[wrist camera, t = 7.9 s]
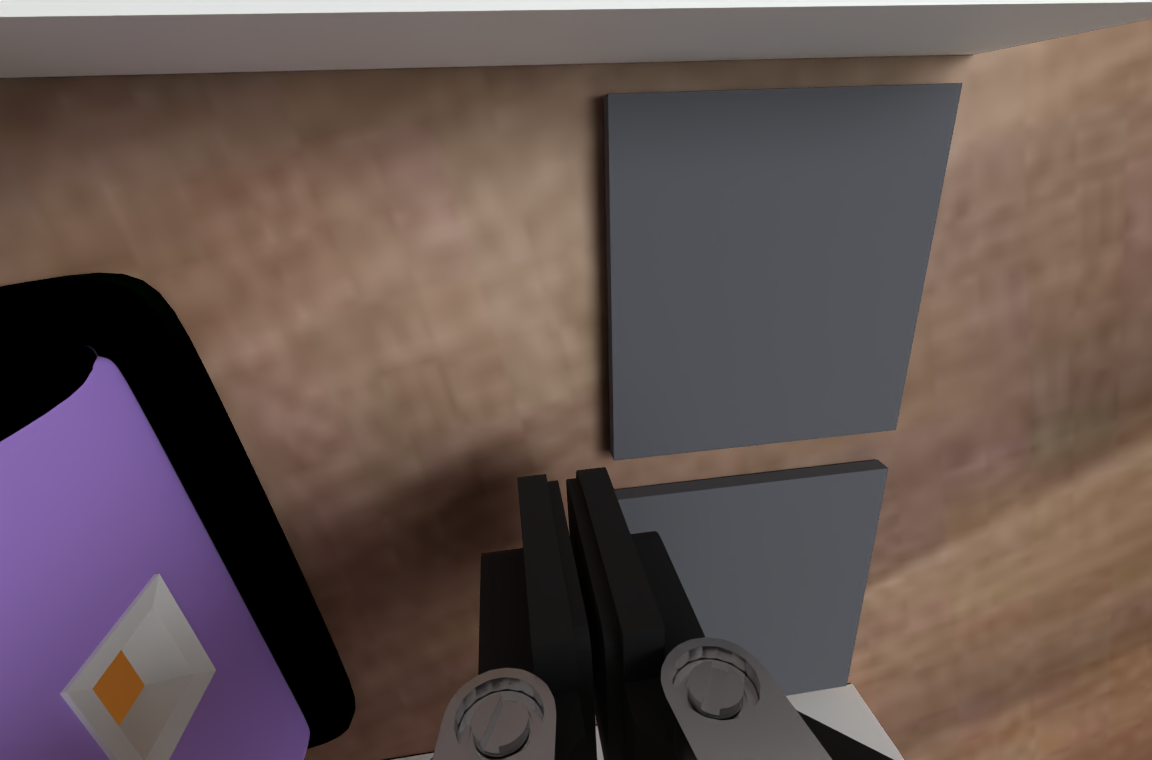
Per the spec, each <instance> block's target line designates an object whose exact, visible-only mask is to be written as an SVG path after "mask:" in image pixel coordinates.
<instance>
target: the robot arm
mask: <svg viewBox="0 0 1152 760" xmlns="http://www.w3.org/2000/svg"><path fill="white" fill-rule="evenodd" d="M517 481H518V492H519V504H520V516H521V528H522V539H523V548H520V549H512V550H505V551H497V552H489V553H482V555H481V580H480V626H479V672H478V676H475V677H474V678H472V679H471V680H470V681H468V682H467V683H466V684H464V685H463V686H462V687H460V689H459V690H458V691H457V692H456V694H455V695H454V696H453V697H452V699H451V700H450V701H449V703H448V706H447V708H446V711H445V713H444V715H443V718H442V722H441V727H440V731H439V735H438V739H437V743H436V747H435V751H434V755H433V757H432V758H431V759H430V760H597V746H596V727H595V716H596V721H597V726H598V732H599V737H600V742H601V747H602V753H603V758H604V760H894V759H892V758H890V757H888V756H886V755H884V754H882V753H880V752H878V751H876V750H874V749H872V748H870V747H868V746H866V745H864V744H862V743H860V742H858V741H856V740H854V739H852V738H850V737H848V736H847V735H845V734H843V733H841V732H839V731H837V730H835V729H833V728H831V727H829V726H827V725H825V724H823V723H821V722H819V721H817V720H815V719H813V718H811V717H809V716H807V715H805V714H803V713H801V712H799V711H797V710H796V709H795V708H794V707H793V705H792V704H791V702H790V701H789V700H788V698H787V697H786V696H785V694H784V693H783V692H782V690H781V689H780V687H779V686H778V685H777V683H776V682H775V681H774V679H773V678H772V676H771V675H770V674H769V672H768V671H767V670H766V668H765V667H764V666H763V664H762V663H761V662H760V661H759V660H758V659H757V658H756V657H755V656H754V655H753V654H752V653H750V652H749V651H747V650H746V649H744V648H742V647H741V646H739V645H738V644H735V643H732V642H729V641H726V640H723V639H718V638H708V637H705V635H704V633H703V630H702V628H701V626H700V624H699V622H698V619H697V617H696V615H695V613H694V610H693V608H692V606H691V604H690V601H689V599H688V597H687V595H686V593H685V590H684V588H683V586H682V584H681V581H680V579H679V577H678V575H677V572H676V570H675V568H674V566H673V564H672V561H671V559H670V557H669V555H668V552H667V550H666V548H665V546H664V543H663V541H662V539H661V537H660V535H659V534H658V532H656V531H650V532H643V533H635V534H630V531H629V529H628V526H627V523H626V521H625V518H624V515H623V513H622V510H621V507H620V505H619V502H618V499H617V497H616V494H615V491H614V488H613V486H612V483H611V480H610V478H609V475H608V472H607V470H606V468H605V467H603V468H595V469H586V470H577V472H576V478H575V479H567V480H566V486H567V502H568V517H569V531H568V526H567V521H566V517H565V512H564V507H563V502H562V498H561V493H560V488H559V483H558V481H549V482H547V478H546V474H543V475H534V476H526V477H517ZM569 533H570V536H569Z"/></svg>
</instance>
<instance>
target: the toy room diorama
mask: <svg viewBox="0 0 1152 760" xmlns="http://www.w3.org/2000/svg"><path fill="white" fill-rule="evenodd" d="M354 712H355V697H354V694H353V690H352V687H351V684H350V681H349V679H348V676H347V674H346V671H345V669H344V666H343V664H342V662H341V659H340V657H339V655H338V652H337V650H336V648H335V645H334V643H333V641H332V638H331V636H330V634H329V632H328V629H327V627H326V625H325V623H324V620H323V618H322V616H321V614H320V612H319V609H318V607H317V605H316V603H315V600H314V598H313V596H312V594H311V592H310V589H309V587H308V585H307V583H306V581H305V578H304V576H303V574H302V572H301V570H300V567H299V565H298V563H297V561H296V559H295V557H294V554H293V552H292V550H291V548H290V546H289V543H288V541H287V539H286V537H285V535H284V533H283V530H282V528H281V526H280V524H279V522H278V520H277V518H276V515H275V513H274V511H273V509H272V507H271V505H270V503H269V500H268V498H267V496H266V494H265V492H264V490H263V488H262V485H261V483H260V481H259V479H258V477H257V475H256V473H255V471H254V469H253V466H252V464H251V462H250V460H249V458H248V456H247V454H246V452H245V449H244V447H243V445H242V443H241V441H240V439H239V437H238V435H237V433H236V431H235V429H234V427H233V424H232V422H231V420H230V418H229V416H228V414H227V412H226V410H225V408H224V406H223V404H222V402H221V400H220V398H219V395H218V393H217V391H216V389H215V387H214V385H213V383H212V381H211V379H210V377H209V375H208V373H207V371H206V369H205V367H204V365H203V363H202V361H201V359H200V357H199V355H198V353H197V351H196V349H195V347H194V345H193V343H192V341H191V340H190V338H189V336H188V334H187V332H186V331H185V329H184V327H183V326H182V324H181V322H180V320H179V319H178V317H177V315H176V314H175V312H174V310H173V309H172V308H171V307H170V305H169V304H168V303H167V302H166V300H165V299H164V298H163V297H162V295H161V294H160V293H159V292H158V291H156V290H155V289H154V288H152V287H151V286H150V285H148V284H147V283H146V282H144V281H143V280H140V279H137V278H134V277H131V276H128V275H125V274H113V273H91V274H81V275H70V276H63V277H56V278H50V279H43V280H37V281H30V282H24V283H19V284H13V285H7V286H1V287H0V760H304V758H305V755H306V751H307V749H309V748H312V747H315V746H318V745H321V744H324V743H327V742H329V741H331V740H333V739H335V738H337V737H339V736H340V735H341V734H343V733H344V732H345V731H346V730H347V729H348V728H349V726H350V723H351V721H352V718H353V715H354Z"/></svg>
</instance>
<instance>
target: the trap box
mask: <svg viewBox="0 0 1152 760" xmlns="http://www.w3.org/2000/svg"><path fill="white" fill-rule="evenodd" d="M1148 19H1152V0H0V78H20V77H61V76H102V75H143V74H184V73H225V72H266V71H308V70H349V69H390V68H431V67H472V66H513V65H554V64H595V63H636V62H677V61H718V60H759V59H800V58H841V57H882V56H924V55H965V54H980V53H985V52H990V51H995V50H1000V49H1005V48H1010V47H1015V46H1019V45H1024V44H1029V43H1034V42H1039V41H1044V40H1049V39H1054V38H1059V37H1064V36H1069V35H1074V34H1079V33H1084V32H1089V31H1094V30H1099V29H1104V28H1109V27H1114V26H1119V25H1123V24H1128V23H1133V22H1138V21H1143V20H1148ZM786 697H787V698H788V700H789V701H790V702H791V704H792V705H793V707H794V708H795V709H796V710H797V711H799V712H801V713H803V714H805V715H807V716H809V717H811V718H813V719H815V720H817V721H819V722H821V723H823V724H825V725H827V726H829V727H831V728H833V729H835V730H837V731H839V732H841V733H843V734H845V735H847V736H848V737H850V738H852V739H854V740H856V741H858V742H860V743H862V744H864V745H866V746H868V747H870V748H872V749H874V750H876V751H878V752H880V753H882V754H884V755H886V756H888V757H890V758H892V759H894V760H904V758H903V757H902V756H901V754H900V753H899V751H898V750H897V748H896V747H895V745H894V744H893V742H892V741H891V740H890V738H889V737H888V735H887V734H886V732H885V731H884V729H883V728H882V726H881V725H880V724H879V722H878V721H877V719H876V718H875V716H874V715H873V713H872V712H871V710H870V709H869V708H868V706H867V705H866V703H865V702H864V700H863V699H862V697H861V696H860V694H859V693H858V692H857V690H856V689H855V687H854V686H853V684H848V685H847V686H843V687H837V688H831V689H825V690H819V691H813V692H807V693H800V694H794V695H788V696H786ZM595 727H596V746H597V760H604V758H603V753H602V747H601V742H600V737H599V732H598V726H595ZM433 755H434V753H429V754H423V755H417V756H411V757H405V758H398V759H392V760H430V759H431V758H432V757H433Z"/></svg>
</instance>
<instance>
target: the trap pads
mask: <svg viewBox="0 0 1152 760" xmlns="http://www.w3.org/2000/svg"><path fill="white" fill-rule="evenodd" d="M961 88H962V83H944V84H912V85H880V86H847V87H815V88H782V89H750V90H718V91H685V92H653V93H620V94H607V95H605V96H604V143H605V196H606V249H607V302H608V355H609V408H610V452H611V454H612V457H613V459H614V460H624V459H633V458H642V457H651V456H660V455H670V454H679V453H688V452H697V451H706V450H716V449H725V448H734V447H743V446H752V445H762V444H771V443H780V442H789V441H798V440H808V439H817V438H826V437H835V436H844V435H854V434H863V433H872V432H881V431H890V430H896V426H897V421H898V416H899V410H900V405H901V400H902V395H903V390H904V384H905V379H906V374H907V369H908V364H909V358H910V353H911V348H912V343H913V338H914V332H915V327H916V322H917V317H918V312H919V306H920V301H921V296H922V291H923V286H924V280H925V275H926V270H927V265H928V260H929V254H930V249H931V244H932V239H933V234H934V228H935V223H936V218H937V213H938V208H939V202H940V197H941V192H942V187H943V182H944V176H945V171H946V166H947V161H948V156H949V150H950V145H951V140H952V135H953V130H954V124H955V119H956V114H957V109H958V103H959V98H960V93H961ZM887 473H888V468H887V467H886V466H885V465H884V464H882V463H881V462H880V461H879V460H871V461H862V462H854V463H845V464H836V465H828V466H819V467H810V468H801V469H793V470H784V471H775V472H767V473H758V474H749V475H741V476H732V477H723V478H714V479H706V480H697V481H688V482H680V483H671V484H662V485H654V486H645V487H636V488H627V489H619V490H614V491H615V494H616V497H617V499H618V502H619V505H620V507H621V510H622V513H623V515H624V518H625V521H626V523H627V526H628V529H629V531H630V534H635V533H643V532H650V531H656V532H658V534H659V535H660V537H661V539H662V541H663V543H664V546H665V548H666V550H667V552H668V555H669V557H670V559H671V561H672V564H673V566H674V568H675V570H676V572H677V575H678V577H679V579H680V581H681V584H682V586H683V588H684V590H685V593H686V595H687V597H688V599H689V601H690V604H691V606H692V608H693V610H694V613H695V615H696V617H697V619H698V622H699V624H700V626H701V628H702V630H703V633H704V635H705V637H708V638H718V639H723V640H726V641H729V642H732V643H735V644H738V645H739V646H741V647H742V648H744V649H746V650H747V651H749V652H750V653H752V654H753V655H754V656H755V657H756V658H757V659H758V660H759V661H760V662H761V663H762V664H763V666H764V667H765V668H766V670H767V671H768V672H769V674H770V675H771V676H772V678H773V679H774V681H775V682H776V683H777V685H778V686H779V687H780V689H781V690H782V692H783V693H784V694H785V696H788V695H794V694H800V693H807V692H813V691H819V690H825V689H831V688H837V687H843V686H847V681H848V676H849V671H850V665H851V660H852V655H853V650H854V645H855V639H856V634H857V629H858V624H859V619H860V613H861V608H862V603H863V598H864V592H865V587H866V582H867V577H868V572H869V566H870V561H871V556H872V551H873V546H874V540H875V535H876V530H877V525H878V520H879V514H880V509H881V504H882V499H883V494H884V488H885V483H886V478H887Z"/></svg>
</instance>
